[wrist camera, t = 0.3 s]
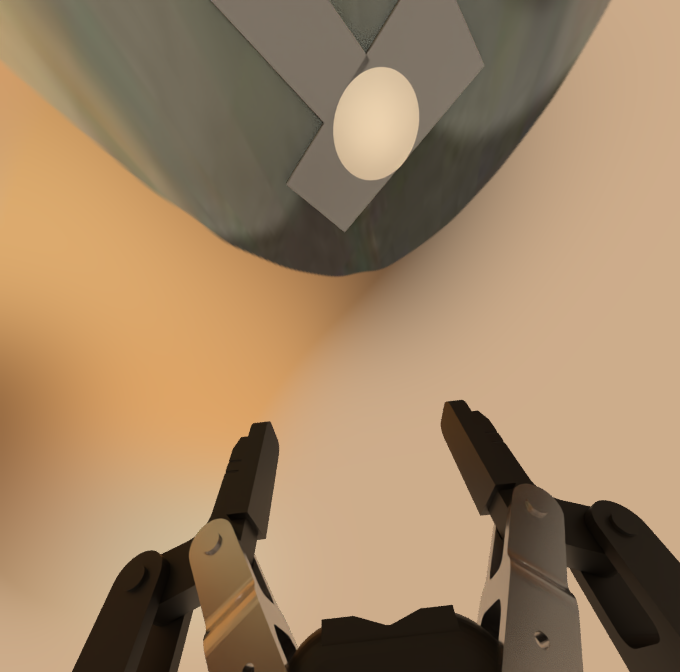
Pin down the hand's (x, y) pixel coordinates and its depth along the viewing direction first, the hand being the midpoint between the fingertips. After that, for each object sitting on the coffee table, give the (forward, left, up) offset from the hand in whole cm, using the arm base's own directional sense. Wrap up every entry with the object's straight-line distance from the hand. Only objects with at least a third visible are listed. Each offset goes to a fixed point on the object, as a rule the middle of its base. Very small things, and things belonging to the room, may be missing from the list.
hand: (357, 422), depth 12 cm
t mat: (-5, +10, -28) cm, 30 cm away
